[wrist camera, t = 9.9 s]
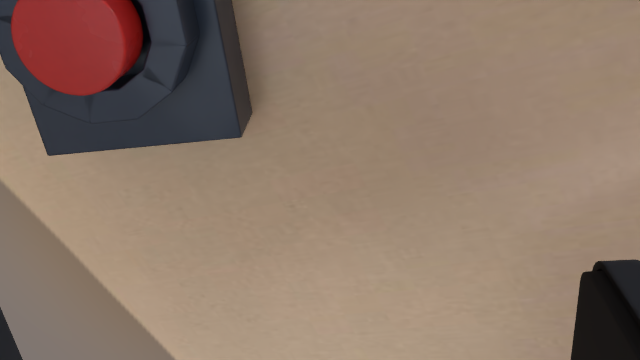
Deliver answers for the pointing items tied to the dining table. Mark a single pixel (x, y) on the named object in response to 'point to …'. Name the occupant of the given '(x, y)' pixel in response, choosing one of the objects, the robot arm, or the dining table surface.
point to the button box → (149, 84)
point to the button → (77, 42)
